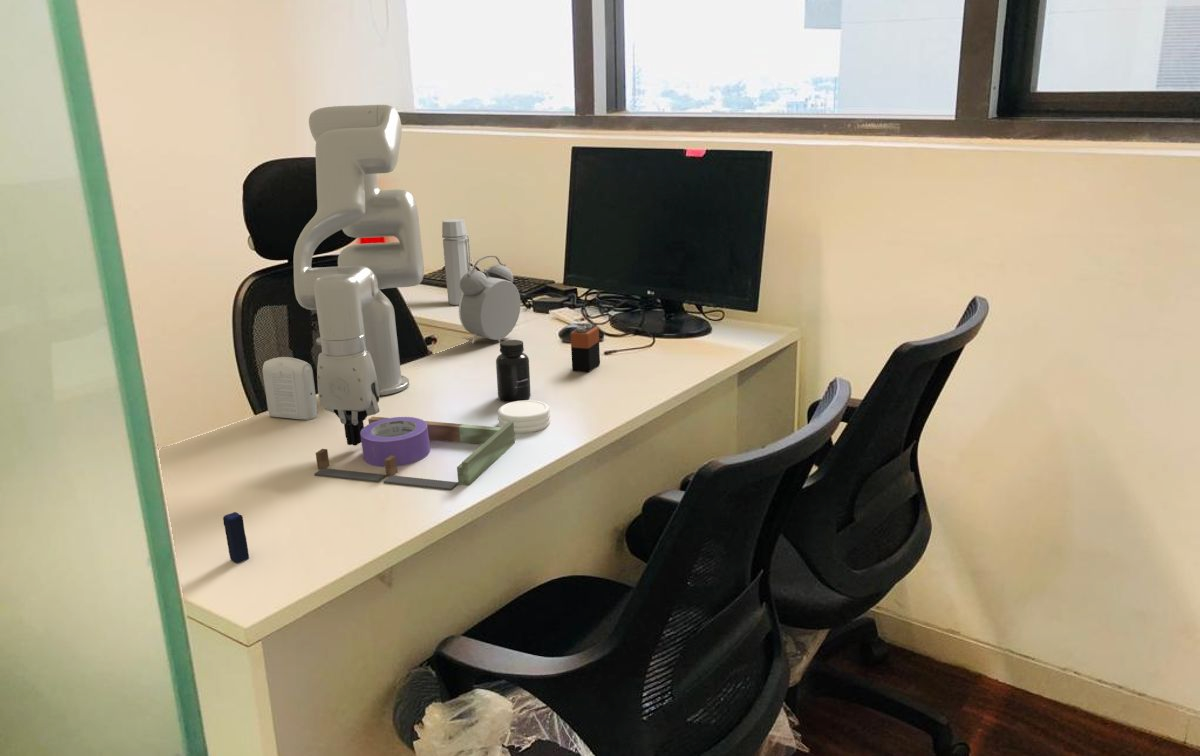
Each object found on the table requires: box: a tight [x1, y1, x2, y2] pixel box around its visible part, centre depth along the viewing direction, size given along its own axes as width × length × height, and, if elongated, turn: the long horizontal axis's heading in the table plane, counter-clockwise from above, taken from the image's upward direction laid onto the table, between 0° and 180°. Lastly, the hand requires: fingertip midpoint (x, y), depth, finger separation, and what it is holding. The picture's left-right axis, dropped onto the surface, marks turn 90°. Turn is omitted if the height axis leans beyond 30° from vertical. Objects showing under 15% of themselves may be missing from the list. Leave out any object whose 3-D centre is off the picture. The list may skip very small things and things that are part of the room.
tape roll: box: [360, 416, 431, 468], centre depth 164 cm, size 12×12×5 cm
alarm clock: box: [458, 255, 522, 344], centre depth 233 cm, size 16×9×22 cm, turn 144°
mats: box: [314, 467, 459, 491], centre depth 154 cm, size 26×2×1 cm, turn 72°
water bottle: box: [441, 218, 476, 307], centre depth 274 cm, size 9×8×25 cm
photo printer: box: [262, 356, 319, 421], centre depth 184 cm, size 10×4×12 cm, turn 72°
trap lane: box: [315, 416, 516, 486], centre depth 163 cm, size 29×19×4 cm, turn 72°
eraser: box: [222, 511, 250, 564], centre depth 129 cm, size 2×2×7 cm
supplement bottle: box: [495, 339, 531, 403], centre depth 190 cm, size 7×7×12 cm
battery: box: [570, 322, 601, 373], centre depth 209 cm, size 4×7×10 cm, turn 157°
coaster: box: [497, 399, 551, 434], centre depth 177 cm, size 10×10×4 cm
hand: (356, 442), depth 167 cm, fingers closed
